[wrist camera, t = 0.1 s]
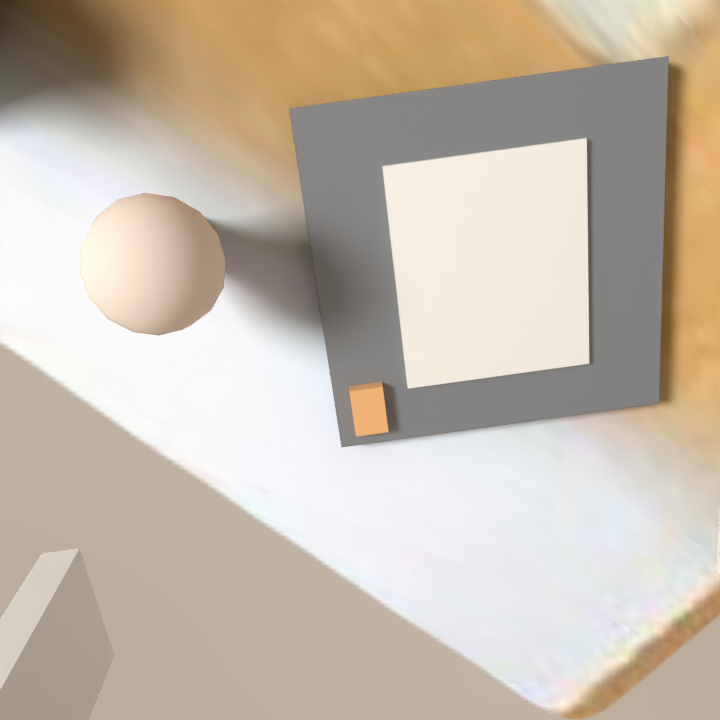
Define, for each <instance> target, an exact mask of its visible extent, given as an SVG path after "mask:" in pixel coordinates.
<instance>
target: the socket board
mask: <svg viewBox="0 0 720 720" xmlns="http://www.w3.org/2000/svg"><path fill="white" fill-rule="evenodd" d="M668 62H669V56H667V57H660V58H653V59H645V60H638V61H631V62H624V63H616V64H609V65H602V66H595V67H587V68H580V69H573V70H566V71H558V72H551V73H544V74H537V75H530V76H522V77H515V78H508V79H501V80H493V81H486V82H479V83H472V84H464V85H457V86H450V87H443V88H435V89H428V90H421V91H414V92H406V93H399V94H392V95H385V96H377V97H370V98H363V99H356V100H349V101H341V102H334V103H327V104H320V105H312V106H305V107H298V108H291V109H289V112H290V119H291V125H292V132H293V138H294V144H295V151H296V157H297V164H298V170H299V177H300V183H301V189H302V196H303V202H304V209H305V215H306V221H307V228H308V234H309V241H310V247H311V254H312V260H313V266H314V273H315V279H316V286H317V292H318V299H319V305H320V311H321V318H322V324H323V331H324V337H325V343H326V350H327V356H328V363H329V369H330V376H331V382H332V388H333V395H334V401H335V408H336V414H337V421H338V427H339V433H340V440H341V446H342V447H347V446H354V445H361V444H369V443H376V442H383V441H390V440H398V439H405V438H412V437H419V436H427V435H434V434H441V433H448V432H456V431H463V430H470V429H478V428H485V427H492V426H499V425H507V424H514V423H521V422H528V421H536V420H543V419H550V418H557V417H565V416H572V415H579V414H586V413H594V412H601V411H608V410H616V409H623V408H630V407H637V406H645V405H652V404H659V385H660V349H661V313H662V277H663V241H664V205H665V169H666V134H667V98H668Z"/></svg>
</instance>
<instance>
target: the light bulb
mask: <svg viewBox="0 0 720 720" xmlns="http://www.w3.org/2000/svg"><path fill="white" fill-rule="evenodd" d="M225 265H226V260H225V256H224V252H223V249H222V246H221V243H220V240H219V237H218V234H217V232H216V231H215V230H214V229H213V227H212V226H211V225H210V224H209V222H208V221H207V220H206V219H205V218H204V216H203V215H202V214H201V213H200V212H199V211H197V210H195V209H194V208H192V207H190V206H188V205H187V204H185V203H183V202H182V201H180V200H178V199H176V198H174V197H169V196H162V195H155V194H148V193H142V194H138V195H134V196H130V197H126V198H122V199H118V200H117V201H115V202H114V203H113V204H112V205H110V206H109V207H108V208H107V209H105V210H104V211H103V212H102V213H100V214H99V215H98V216H97V217H96V218H95V220H94V222H93V224H92V226H91V228H90V230H89V232H88V234H87V236H86V238H85V240H84V243H83V245H82V247H81V249H80V275H81V278H82V280H83V283H84V285H85V288H86V291H87V293H88V296H89V298H90V299H91V301H92V302H93V303H94V304H95V305H96V306H97V307H98V308H99V309H100V311H101V312H102V313H103V314H104V315H105V316H106V317H107V318H108V319H109V320H111V321H113V322H115V323H117V324H119V325H120V326H122V327H124V328H126V329H128V330H130V331H132V332H136V333H144V334H152V335H162V334H166V333H170V332H174V331H178V330H182V329H184V328H187V327H189V326H190V325H192V324H193V323H194V322H196V321H197V320H199V319H200V318H201V317H203V316H204V315H205V314H207V313H208V312H209V311H211V309H212V307H213V306H214V304H215V302H216V300H217V298H218V297H219V295H220V293H221V291H222V289H223V287H224V277H225Z"/></svg>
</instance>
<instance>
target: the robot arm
mask: <svg viewBox="0 0 720 720" xmlns="http://www.w3.org/2000/svg"><path fill="white" fill-rule="evenodd" d="M716 572H717V574H718V575H719V576H720V517H719V532H718V547H717V562H716ZM113 656H114V652H113V649H112V646H111V643H110V640H109V637H108V634H107V631H106V628H105V625H104V622H103V618H102V615H101V612H100V610H99V606H98V603H97V600H96V597H95V594H94V591H93V588H92V585H91V582H90V579H89V576H88V573H87V570H86V567H85V563H84V561H83V557H82V554H81V551H80V549H71V550H64V551H57V552H50V553H43V554H41V556H40V558H39V559H38V561H37V562H36V564H35V565H34V567H33V568H32V570H31V572H30V573H29V575H28V576H27V578H26V579H25V581H24V583H23V584H22V586H21V587H20V589H19V590H18V592H17V594H16V595H15V597H14V598H13V600H12V602H11V603H10V605H9V606H8V608H7V609H6V611H5V612H4V614H3V616H2V617H1V619H0V720H89V718H90V716H91V713H92V710H93V708H94V705H95V703H96V700H97V698H98V695H99V692H100V690H101V687H102V685H103V682H104V680H105V677H106V674H107V672H108V669H109V666H110V664H111V661H112V659H113Z"/></svg>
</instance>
